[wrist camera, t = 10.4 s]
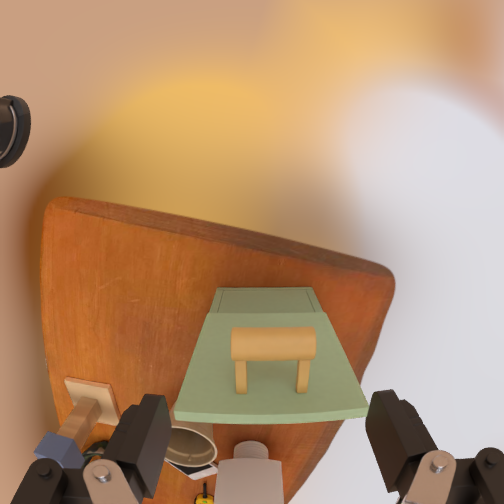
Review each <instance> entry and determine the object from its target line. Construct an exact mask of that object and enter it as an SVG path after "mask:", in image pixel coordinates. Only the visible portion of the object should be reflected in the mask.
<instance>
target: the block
mask: <svg viewBox="0 0 504 504" xmlns="http://www.w3.org/2000/svg"><path fill="white" fill-rule="evenodd" d="M34 454H35V455H36V457H37V458H38V459H41V458H51V459H54V460H55V461H57V462H58V463H59V464H60V466H61V467H62V468H76V469H81V467H82V465H83V463H84V461H85V459H84V457H83V455H82V454H81V452H80V450H79V448H78V446H77V444H76V442H75V441H74V439H71V438H68V437H64V436H61V435H58V434H55V433H52V432H49V431H48V432H47V433H46V435H45V436H44V437H43V439H42V440H41V442H40V443H39V445H38V446H37V448H36V449H35V451H34Z"/></svg>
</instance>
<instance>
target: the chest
mask: <svg viewBox="0 0 504 504" xmlns="http://www.w3.org/2000/svg"><path fill="white" fill-rule="evenodd" d="M313 312H323V310H322V308H321V306H320V304H319V301H318V299H317V297H316V295H315V293H314V291H313V288H312V287H262V288H226V287H218V288H217V290H216V293H215V296H214V299H213V302H212V305H211V308H210V311H209V313H313Z"/></svg>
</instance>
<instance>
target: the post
mask: <svg viewBox="0 0 504 504" xmlns="http://www.w3.org/2000/svg"><path fill="white" fill-rule="evenodd" d="M64 382H65V384H66V387H67V390H68V392H69V395H70V398H71V400H72V403H73V405H74V409H73V410H72V411H71V413H70V414H69V416H68V417H67V419H66V420H65V422H64V423H63V425H62V426H61V428H60V429H59V431H58V433H57V434H58V435H61V436H64V437H68V438H71V439H74V441H75V442H76V444H77V446H78V448H79V450H80V451H81V449H82V447H83V445H84V444H85V442H86V440H87V438H88V437H89V435H90V433H91V431H92V429H93V428H94V426H95V424H96V422H99V423H104V424H109V425H114V426H117V424H118V423H119V420H120V418H121V416H120V413H119V410H118V407H117V404H116V401H115V398H114V395H113V391H112V388H111V385H110V384H104V383H98V382H92V381H87V380H81V379H76V378H71V377H66V378H65V380H64Z"/></svg>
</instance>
